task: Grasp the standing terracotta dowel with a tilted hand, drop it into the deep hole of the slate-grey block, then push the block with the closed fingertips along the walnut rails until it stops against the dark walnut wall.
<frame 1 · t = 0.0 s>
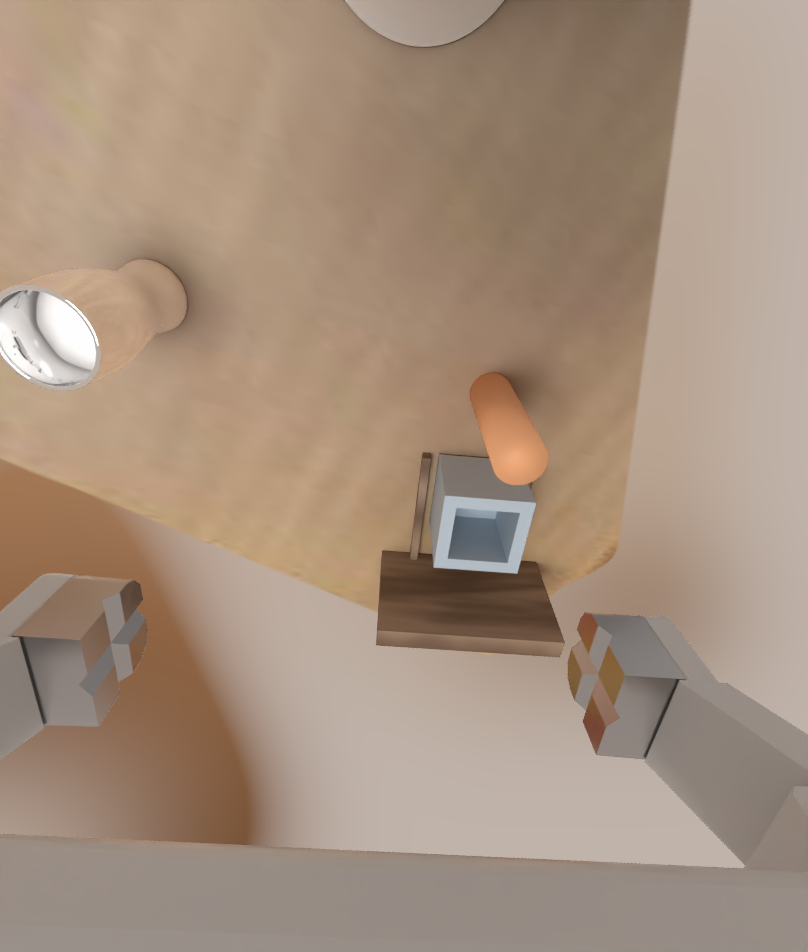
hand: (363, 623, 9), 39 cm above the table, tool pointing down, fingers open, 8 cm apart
dowel: (490, 393, 48), on the table
backstop wall: (458, 563, 58), on the table
socket block: (477, 512, 50), point 4 cm above the table, slide at 0.0 cm
beer glass: (153, 296, 44), on the table
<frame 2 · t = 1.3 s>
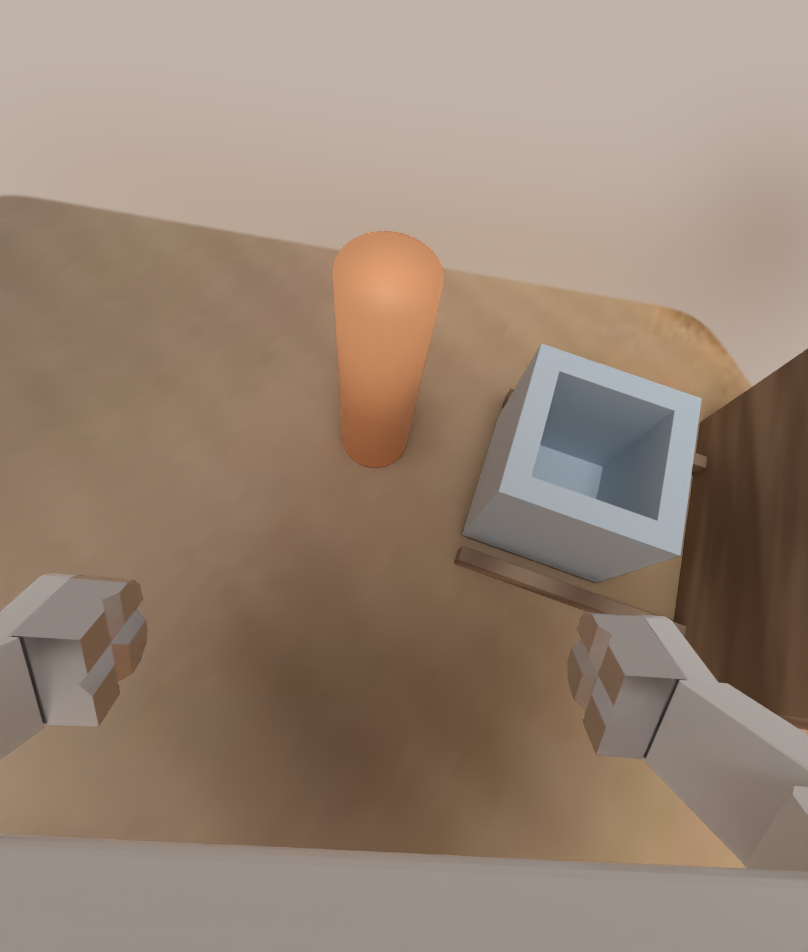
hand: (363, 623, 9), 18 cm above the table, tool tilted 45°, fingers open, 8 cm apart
dowel: (374, 437, 31), on the table
backstop wall: (699, 552, 30), on the table
socket block: (570, 472, 27), point 4 cm above the table, slide at 0.0 cm
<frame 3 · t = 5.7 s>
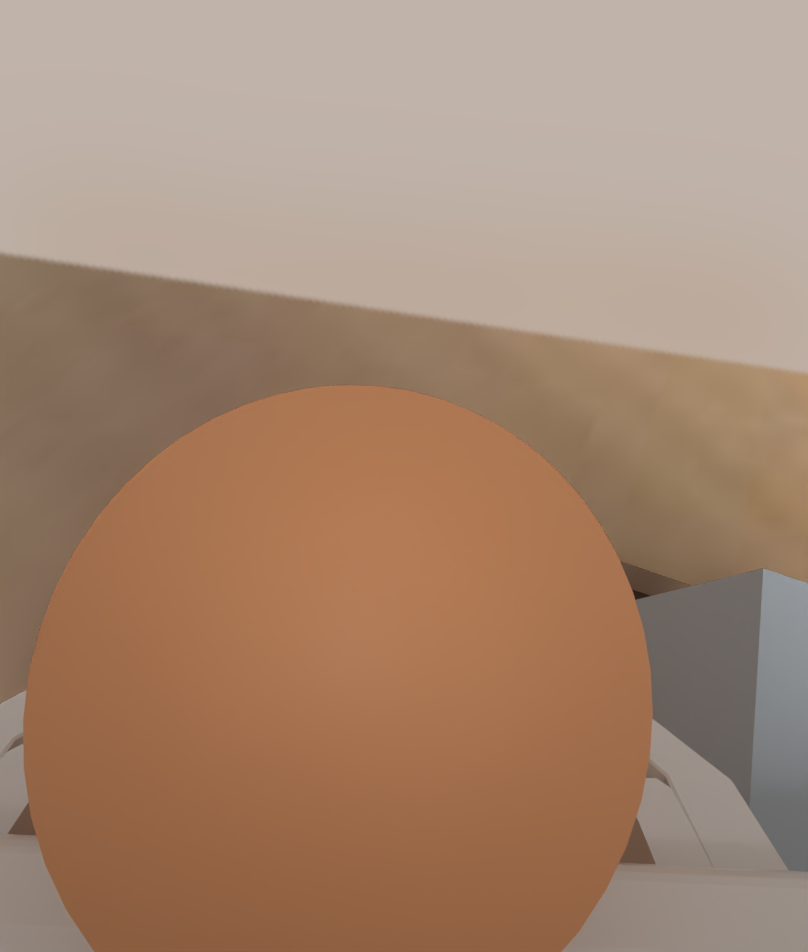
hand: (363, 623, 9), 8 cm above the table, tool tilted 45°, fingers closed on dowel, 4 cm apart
dowel: (363, 663, 16), on the table, touching gripper
socket block: (797, 818, 12), point 4 cm above the table, slide at 0.0 cm
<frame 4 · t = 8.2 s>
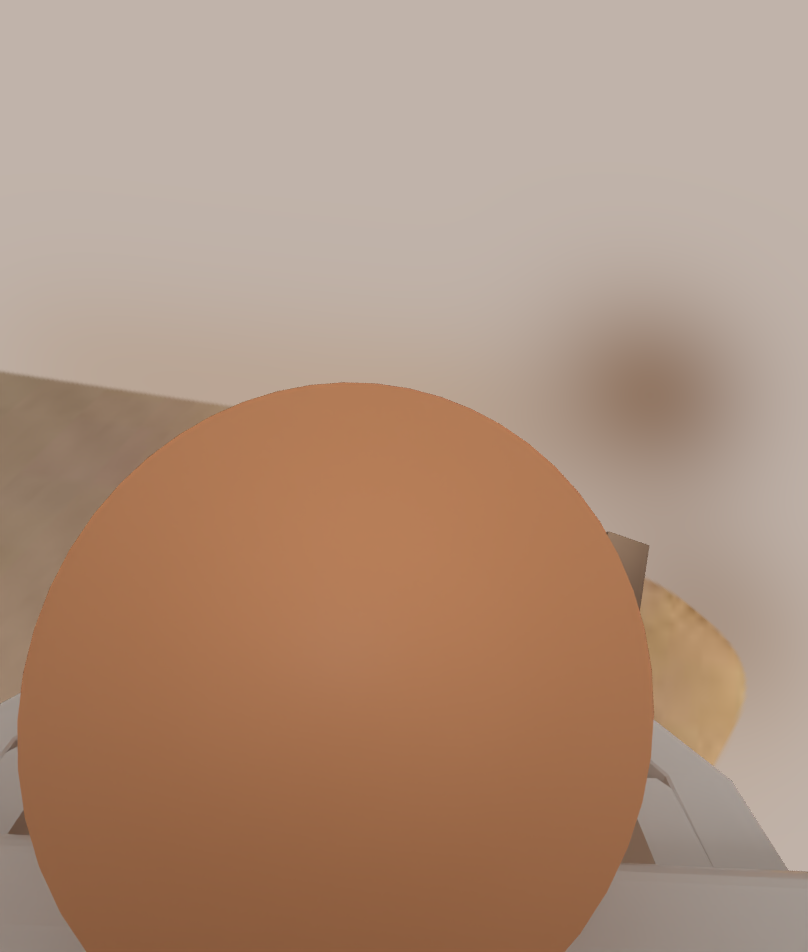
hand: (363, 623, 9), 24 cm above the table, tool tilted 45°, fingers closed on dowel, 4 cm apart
dowel: (362, 662, 16), point 16 cm above the table, touching gripper
backstop wall: (509, 714, 31), on the table
when the fingers open (10 cm above the table, at t = 11.2 s): dowel drops 1 cm, resting on socket block.
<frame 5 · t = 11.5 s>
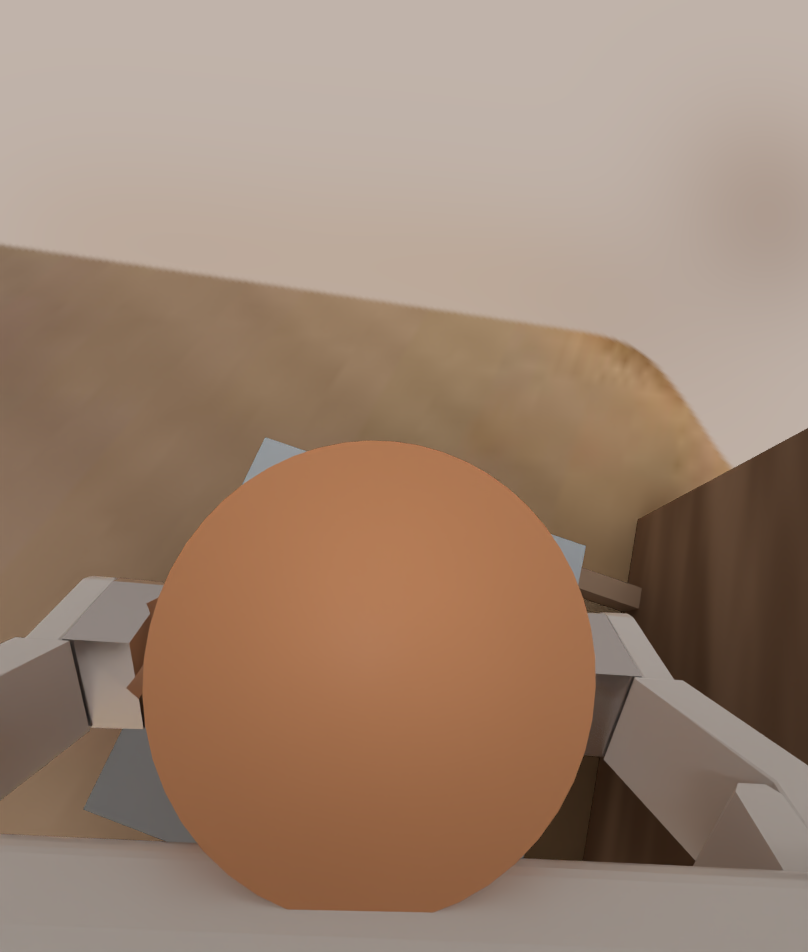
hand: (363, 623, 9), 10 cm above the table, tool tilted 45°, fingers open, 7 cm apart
dowel: (361, 663, 17), point 1 cm above the table, touching socket block
backstop wall: (628, 758, 18), on the table
socket block: (364, 662, 14), point 4 cm above the table, slide at 0.0 cm, touching dowel
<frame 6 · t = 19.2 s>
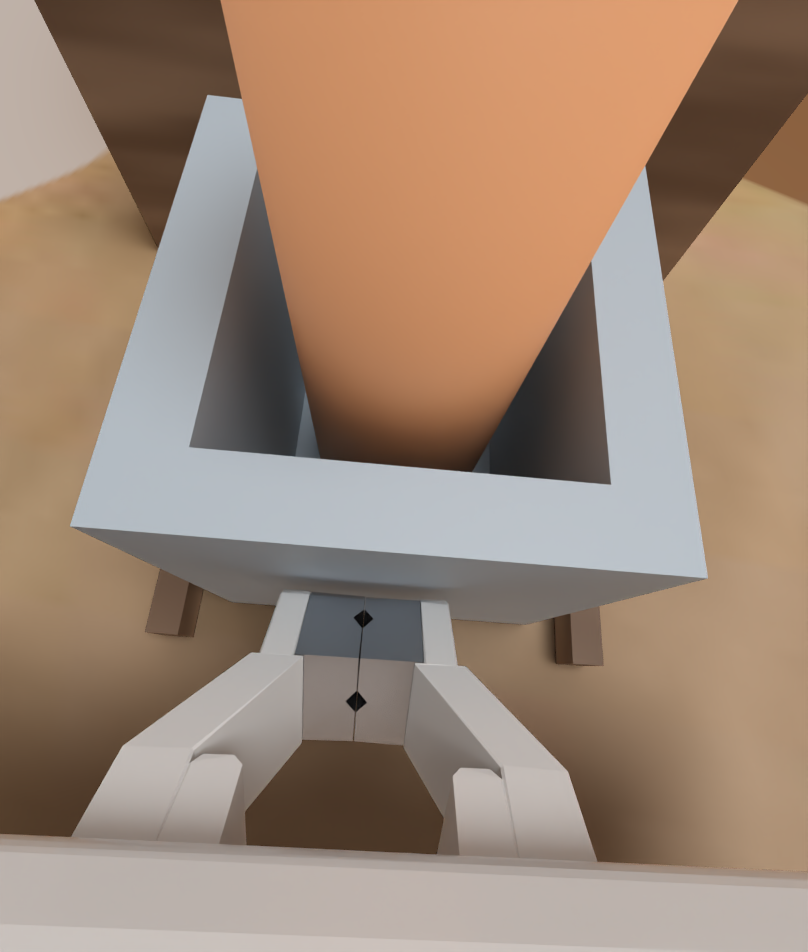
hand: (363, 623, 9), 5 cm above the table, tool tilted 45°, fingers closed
dowel: (393, 472, 15), point 1 cm above the table, touching socket block
backstop wall: (409, 257, 19), on the table
socket block: (400, 415, 12), point 4 cm above the table, slide at 1.1 cm, touching dowel, gripper
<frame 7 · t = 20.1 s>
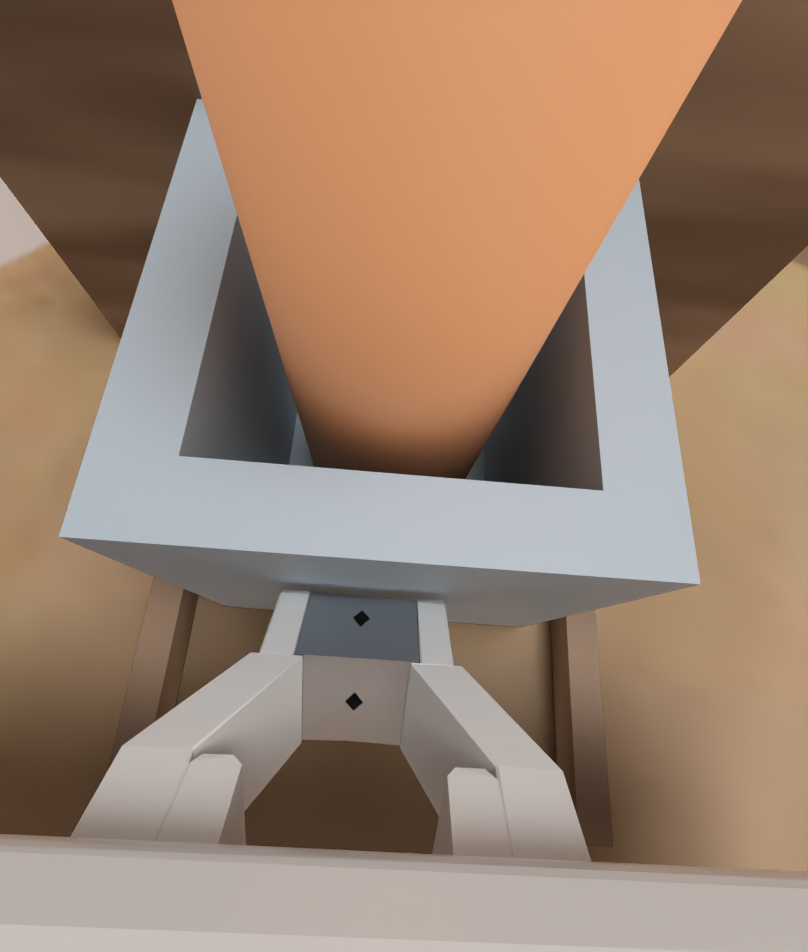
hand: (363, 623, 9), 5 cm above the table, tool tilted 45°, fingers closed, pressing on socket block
dowel: (388, 474, 15), point 1 cm above the table, touching socket block
backstop wall: (397, 343, 17), on the table
socket block: (394, 419, 12), point 4 cm above the table, slide at 4.9 cm, touching backstop wall, dowel, gripper
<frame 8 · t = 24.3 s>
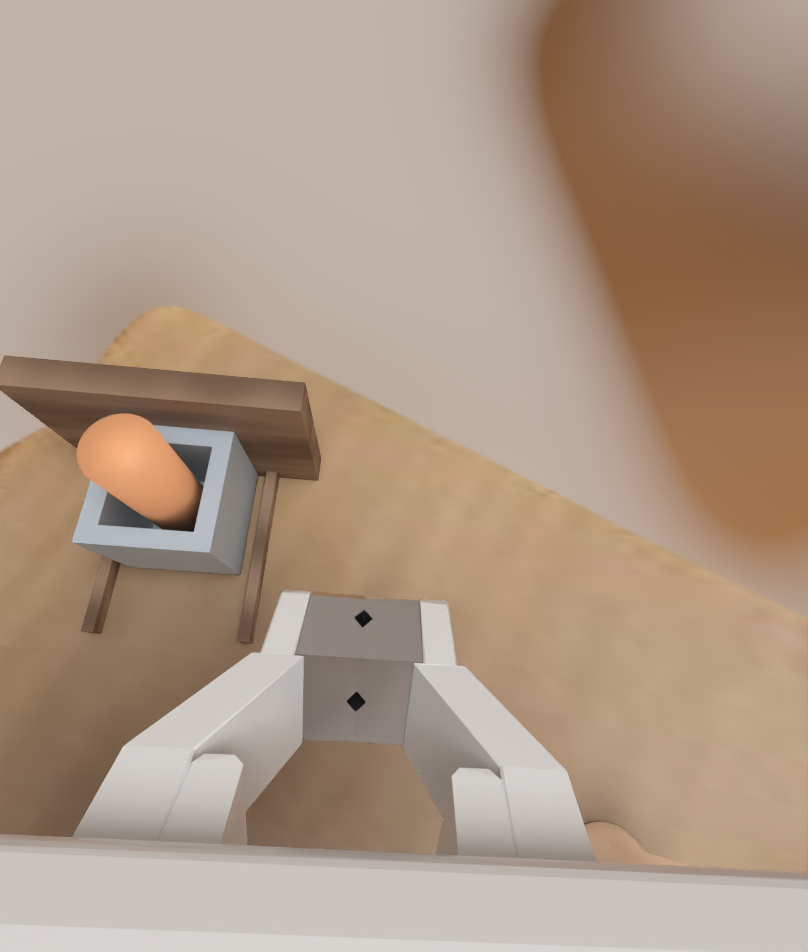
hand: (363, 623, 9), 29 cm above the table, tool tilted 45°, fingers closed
dowel: (193, 517, 38), point 1 cm above the table, touching socket block
backstop wall: (210, 460, 41), on the table
socket block: (179, 503, 35), point 4 cm above the table, slide at 4.9 cm, touching dowel
beer glass: (602, 873, 33), on the table
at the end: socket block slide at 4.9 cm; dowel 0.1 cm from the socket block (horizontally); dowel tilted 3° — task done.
